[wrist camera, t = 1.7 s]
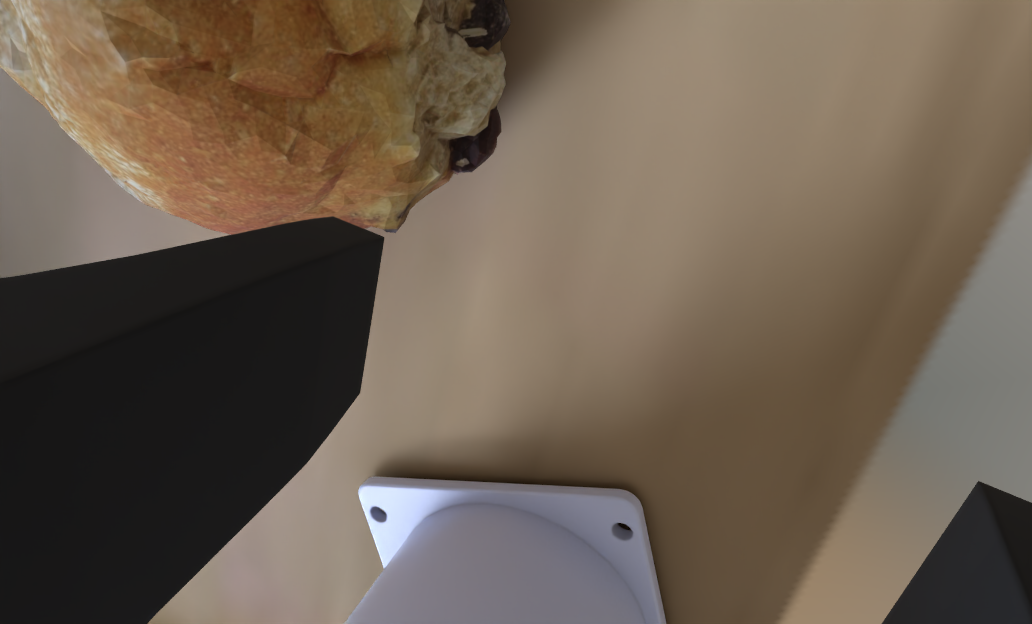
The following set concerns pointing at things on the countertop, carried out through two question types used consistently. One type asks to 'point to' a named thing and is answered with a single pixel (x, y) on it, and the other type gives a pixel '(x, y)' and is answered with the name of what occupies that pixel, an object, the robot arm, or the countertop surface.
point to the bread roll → (268, 100)
